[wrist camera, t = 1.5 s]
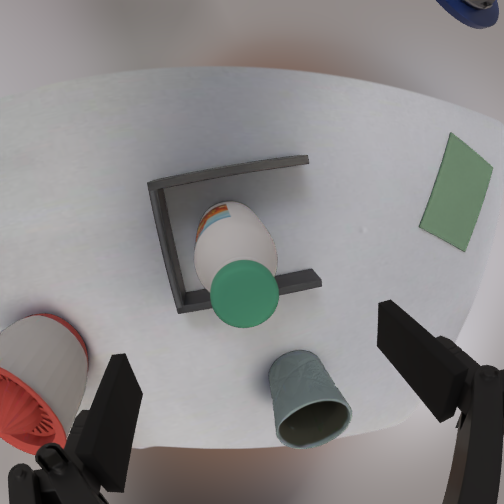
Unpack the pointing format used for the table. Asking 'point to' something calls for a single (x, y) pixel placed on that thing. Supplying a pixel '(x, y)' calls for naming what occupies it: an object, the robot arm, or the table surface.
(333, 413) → the grey-green cup
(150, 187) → the dark grey u-shaped frame
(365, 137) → the table surface
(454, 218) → the mat
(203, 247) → the milk bottle
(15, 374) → the citrus juicer
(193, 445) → the table surface
